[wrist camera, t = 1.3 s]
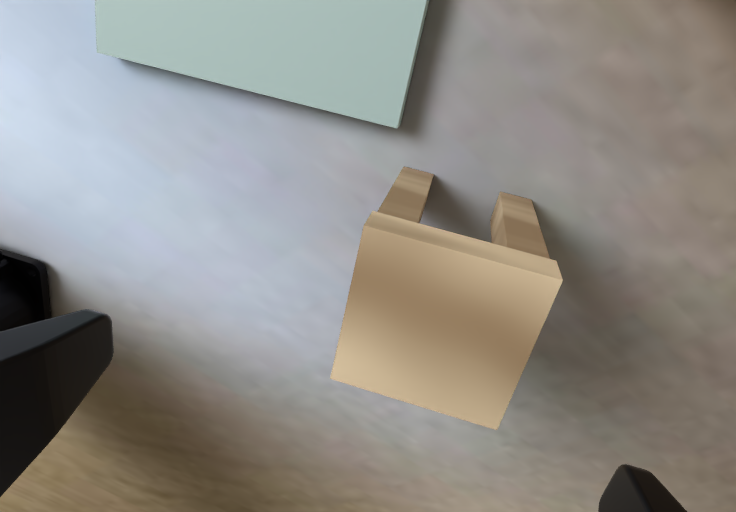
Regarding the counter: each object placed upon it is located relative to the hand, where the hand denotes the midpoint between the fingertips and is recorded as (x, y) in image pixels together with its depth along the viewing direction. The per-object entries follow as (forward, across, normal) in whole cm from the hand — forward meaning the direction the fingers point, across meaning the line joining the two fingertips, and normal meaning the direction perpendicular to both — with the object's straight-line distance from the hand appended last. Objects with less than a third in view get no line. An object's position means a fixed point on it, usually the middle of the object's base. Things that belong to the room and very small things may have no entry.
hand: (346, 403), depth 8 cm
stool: (+12, -1, +2) cm, 12 cm away
